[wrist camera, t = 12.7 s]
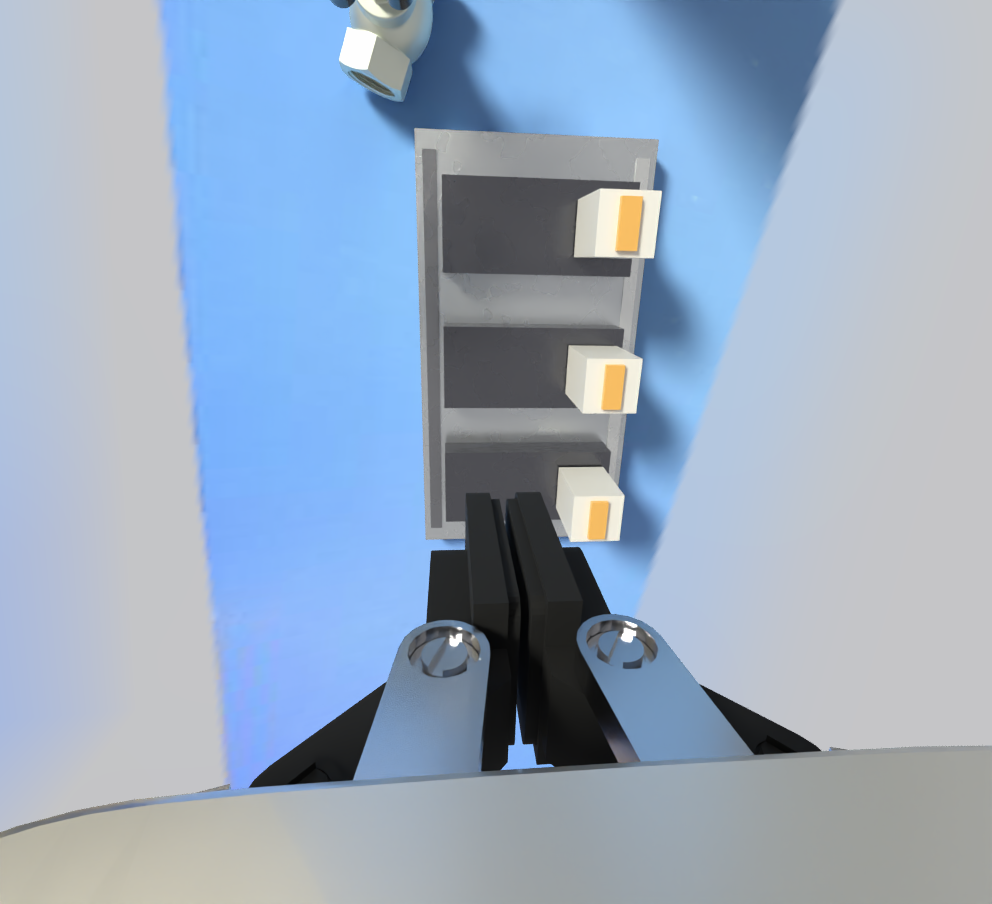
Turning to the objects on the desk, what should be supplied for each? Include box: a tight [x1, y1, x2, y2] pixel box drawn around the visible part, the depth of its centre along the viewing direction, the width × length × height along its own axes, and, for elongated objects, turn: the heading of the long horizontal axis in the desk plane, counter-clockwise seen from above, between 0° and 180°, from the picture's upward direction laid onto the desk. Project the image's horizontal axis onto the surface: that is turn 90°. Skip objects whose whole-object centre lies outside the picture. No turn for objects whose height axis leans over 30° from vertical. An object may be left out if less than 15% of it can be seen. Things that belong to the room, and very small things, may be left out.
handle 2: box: [556, 467, 625, 542], centre depth 32 cm, size 3×3×5 cm
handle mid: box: [565, 345, 643, 414], centre depth 29 cm, size 3×3×5 cm
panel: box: [414, 128, 659, 540], centre depth 33 cm, size 26×14×4 cm, turn 179°
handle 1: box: [574, 188, 662, 259], centre depth 27 cm, size 3×3×5 cm
